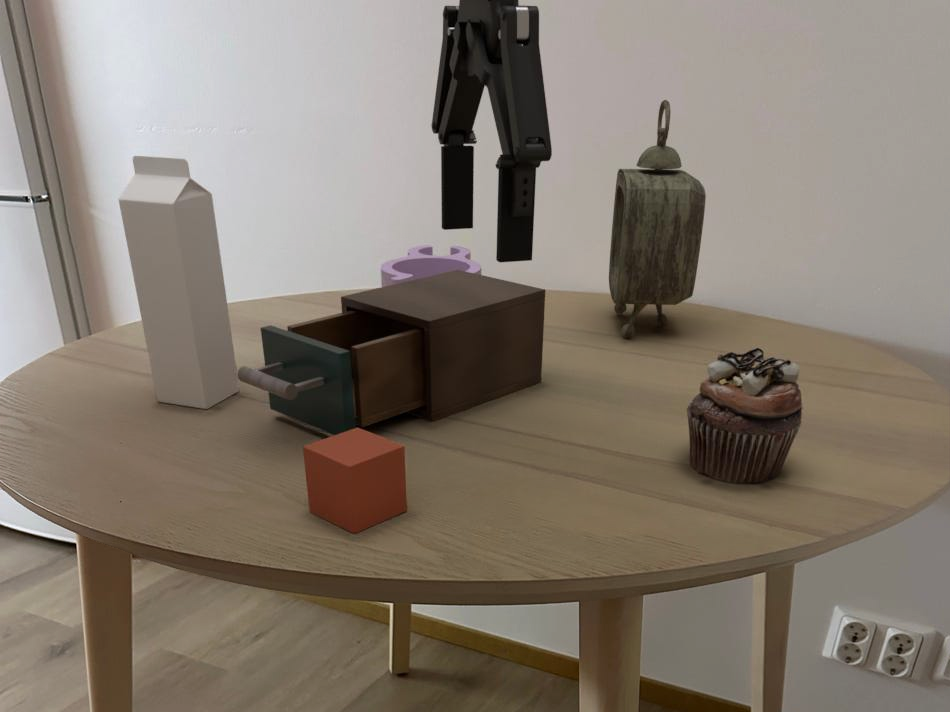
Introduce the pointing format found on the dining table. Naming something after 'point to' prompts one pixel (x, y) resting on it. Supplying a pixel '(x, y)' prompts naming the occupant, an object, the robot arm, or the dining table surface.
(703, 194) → the tabletop clock
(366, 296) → the cabinet
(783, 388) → the cupcake
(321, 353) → the drawer
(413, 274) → the clip
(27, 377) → the dining table surface
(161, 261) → the milk
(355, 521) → the block
